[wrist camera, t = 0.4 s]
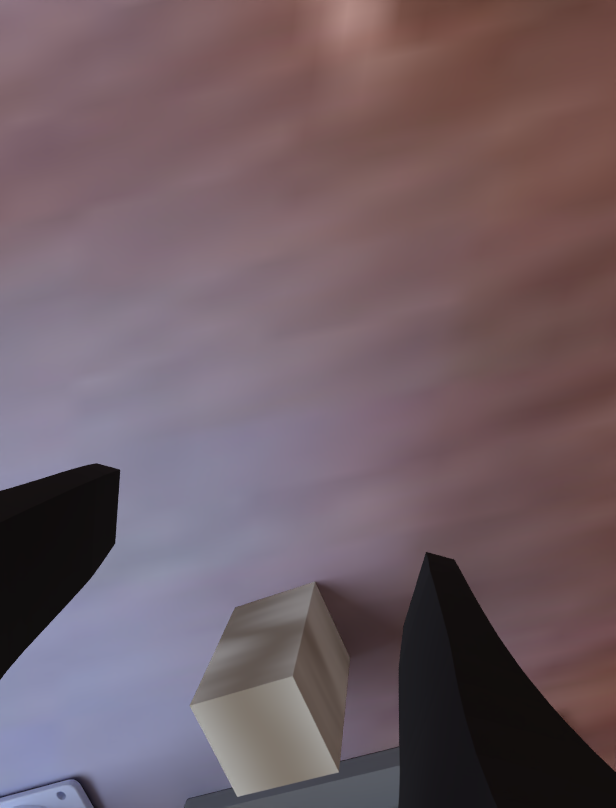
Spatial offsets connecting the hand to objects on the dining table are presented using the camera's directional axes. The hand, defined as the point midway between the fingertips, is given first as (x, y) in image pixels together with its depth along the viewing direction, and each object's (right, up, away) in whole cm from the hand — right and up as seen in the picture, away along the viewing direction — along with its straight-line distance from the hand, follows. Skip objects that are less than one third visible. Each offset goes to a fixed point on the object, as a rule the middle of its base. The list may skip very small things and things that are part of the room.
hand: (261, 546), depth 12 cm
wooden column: (0, -7, +13) cm, 14 cm away
